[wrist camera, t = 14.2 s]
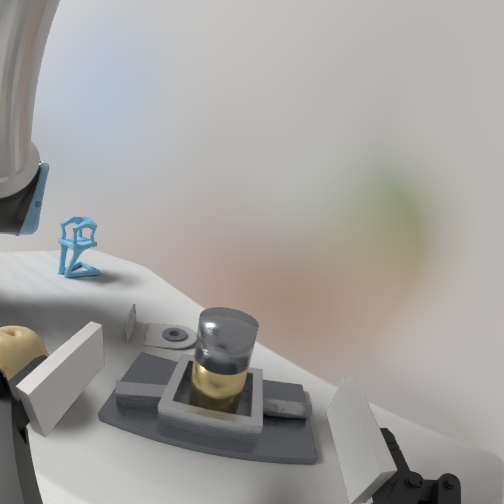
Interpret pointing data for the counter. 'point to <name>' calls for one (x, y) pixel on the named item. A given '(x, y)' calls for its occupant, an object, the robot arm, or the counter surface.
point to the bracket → (162, 334)
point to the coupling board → (212, 414)
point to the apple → (18, 348)
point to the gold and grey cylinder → (222, 359)
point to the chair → (77, 247)
